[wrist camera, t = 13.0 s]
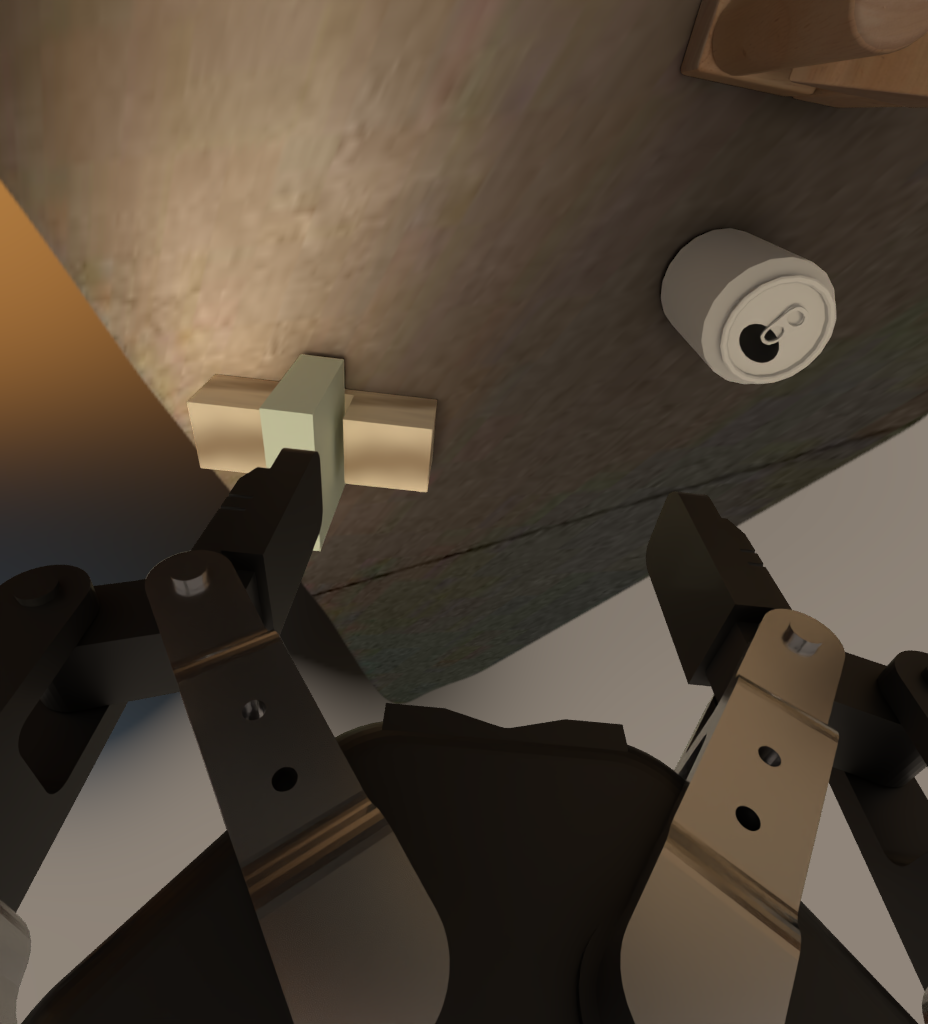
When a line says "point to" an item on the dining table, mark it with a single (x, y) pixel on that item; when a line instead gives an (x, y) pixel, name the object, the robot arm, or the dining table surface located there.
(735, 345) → the can
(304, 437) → the sage green tall block
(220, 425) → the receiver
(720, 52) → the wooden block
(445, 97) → the dining table surface
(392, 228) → the dining table surface
